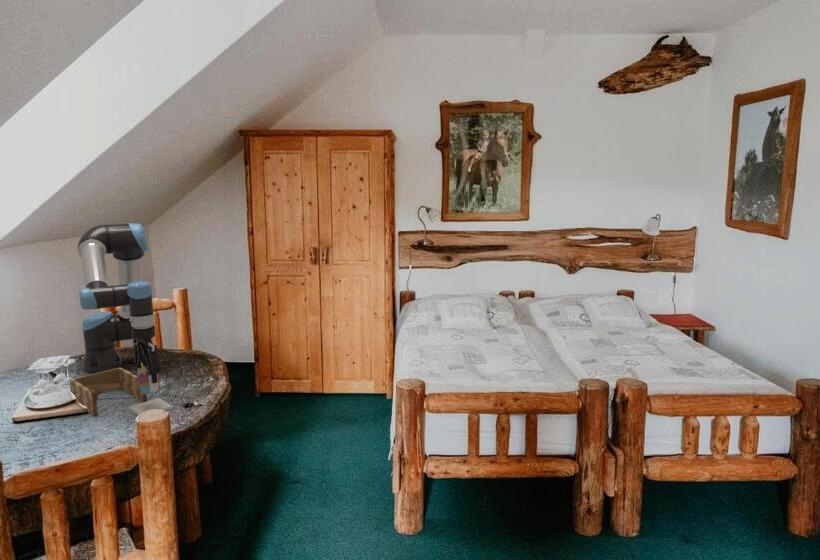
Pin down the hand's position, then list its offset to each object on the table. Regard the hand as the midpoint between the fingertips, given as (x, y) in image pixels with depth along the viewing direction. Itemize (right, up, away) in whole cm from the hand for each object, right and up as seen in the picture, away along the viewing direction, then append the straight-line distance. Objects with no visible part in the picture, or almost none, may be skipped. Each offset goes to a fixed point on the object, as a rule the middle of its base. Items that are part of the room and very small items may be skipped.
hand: (148, 388), depth 215 cm
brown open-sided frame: (-19, -6, +9) cm, 22 cm away
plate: (0, -8, +2) cm, 8 cm away
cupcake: (0, -1, 0) cm, 1 cm away
